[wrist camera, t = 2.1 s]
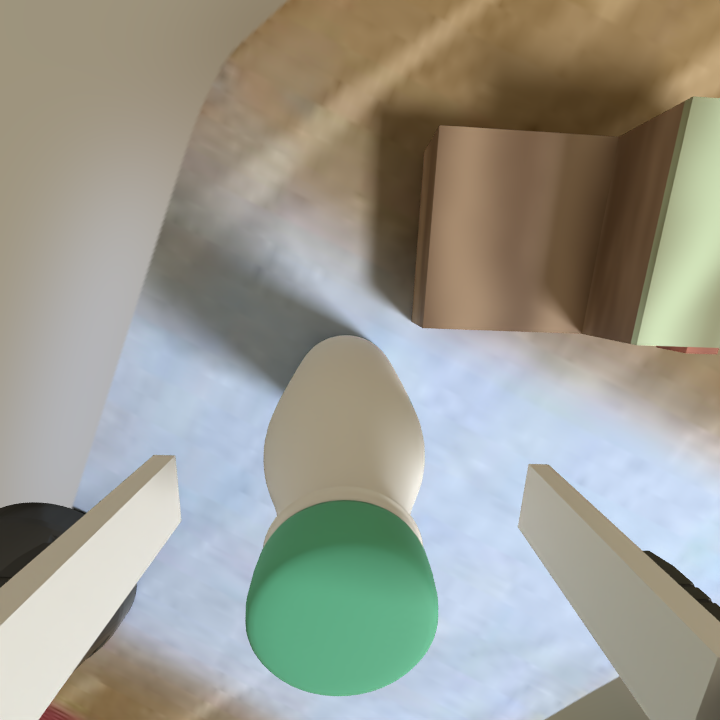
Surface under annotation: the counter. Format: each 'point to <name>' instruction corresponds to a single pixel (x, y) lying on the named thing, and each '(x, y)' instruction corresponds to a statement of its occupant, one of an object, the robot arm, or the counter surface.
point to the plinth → (576, 231)
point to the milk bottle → (343, 528)
